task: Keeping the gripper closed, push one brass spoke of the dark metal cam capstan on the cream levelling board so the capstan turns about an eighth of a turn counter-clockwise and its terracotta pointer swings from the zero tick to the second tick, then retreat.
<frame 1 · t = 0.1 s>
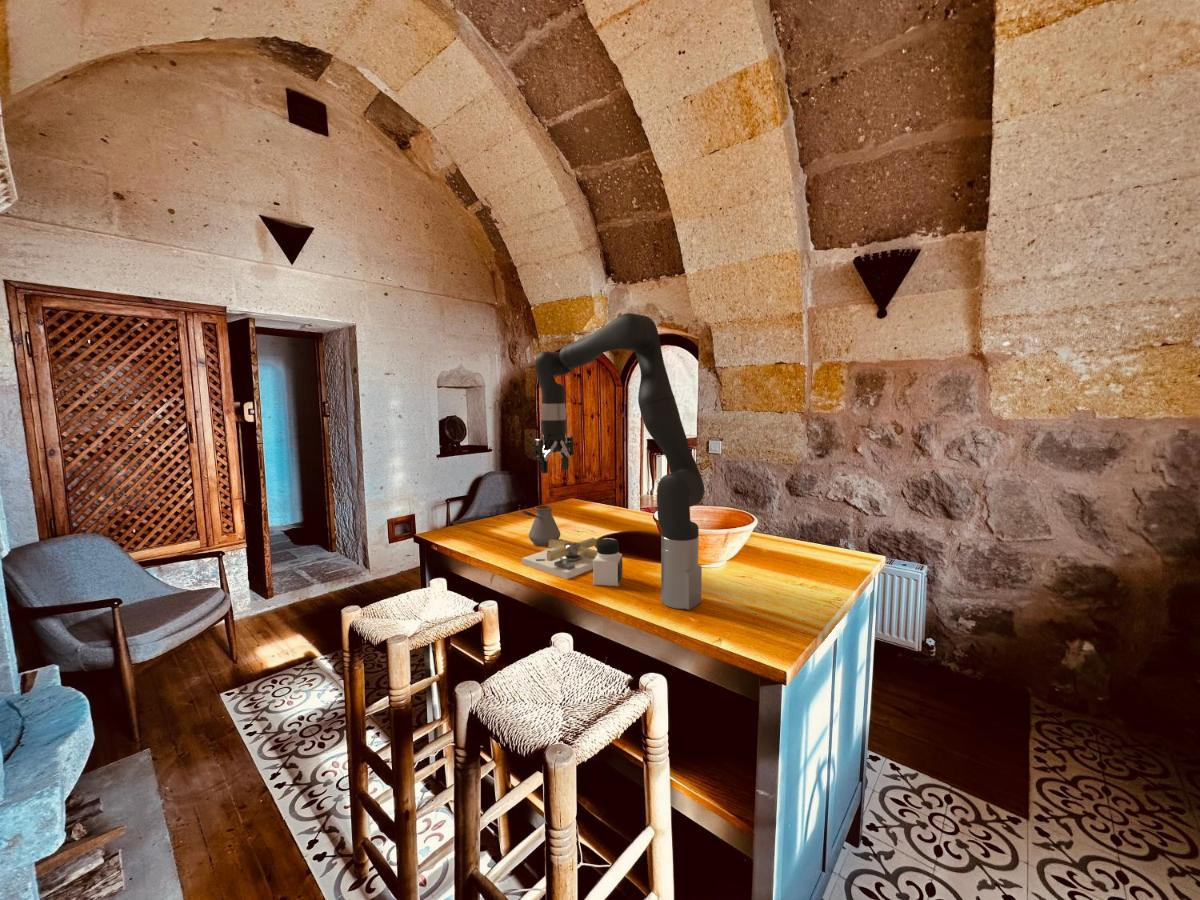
hand: (554, 471, 152), 29 cm above the worktop, fingers open, 8 cm apart
levelling board: (566, 563, 155), on the worktop
medicine bottle: (608, 581, 140), on the worktop
coffee pot: (538, 547, 173), on the worktop
cam capstan: (572, 550, 153), point 5 cm above the worktop, hinge at 0.0°
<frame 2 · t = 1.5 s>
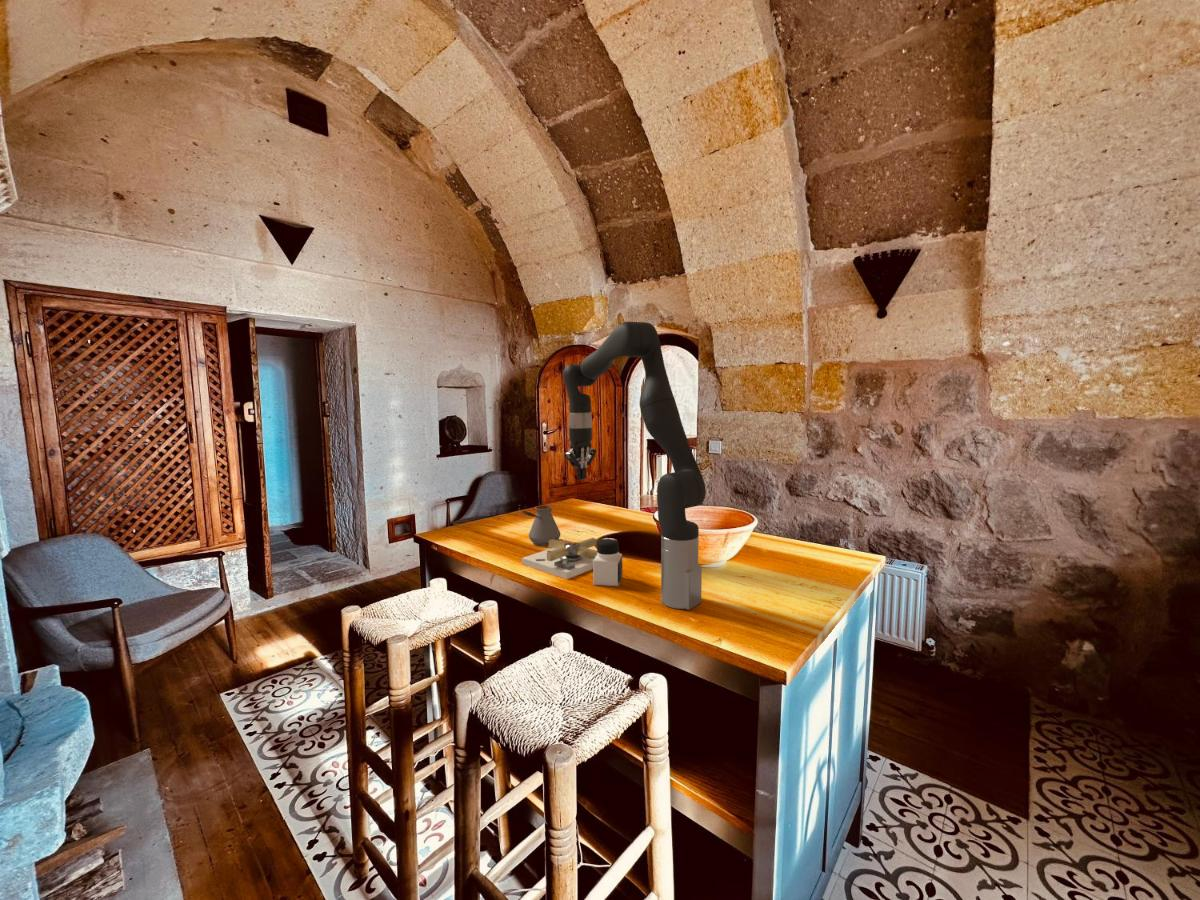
hand: (581, 479, 162), 25 cm above the worktop, fingers closed
nothing on the worktop moved.
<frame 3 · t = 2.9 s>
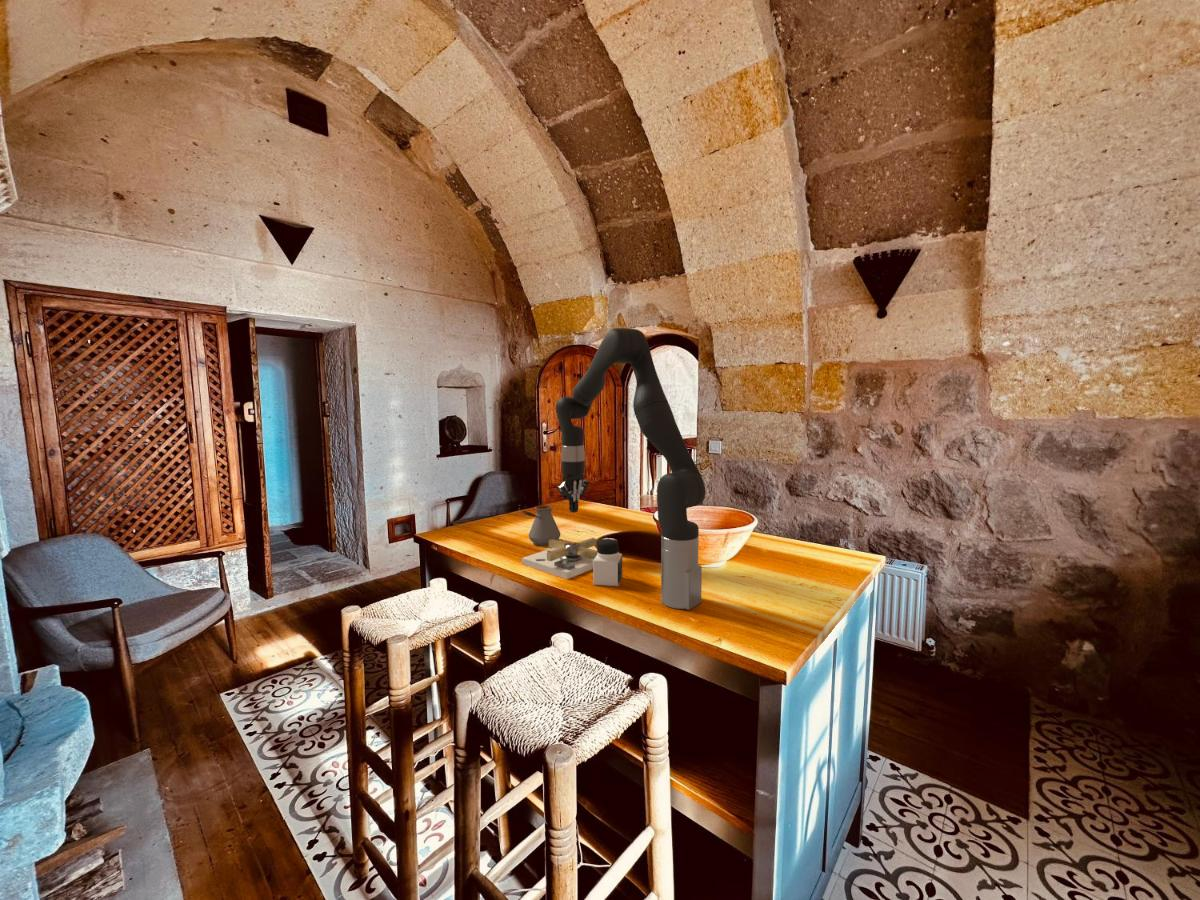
hand: (573, 511, 161), 15 cm above the worktop, fingers closed
nothing on the worktop moved.
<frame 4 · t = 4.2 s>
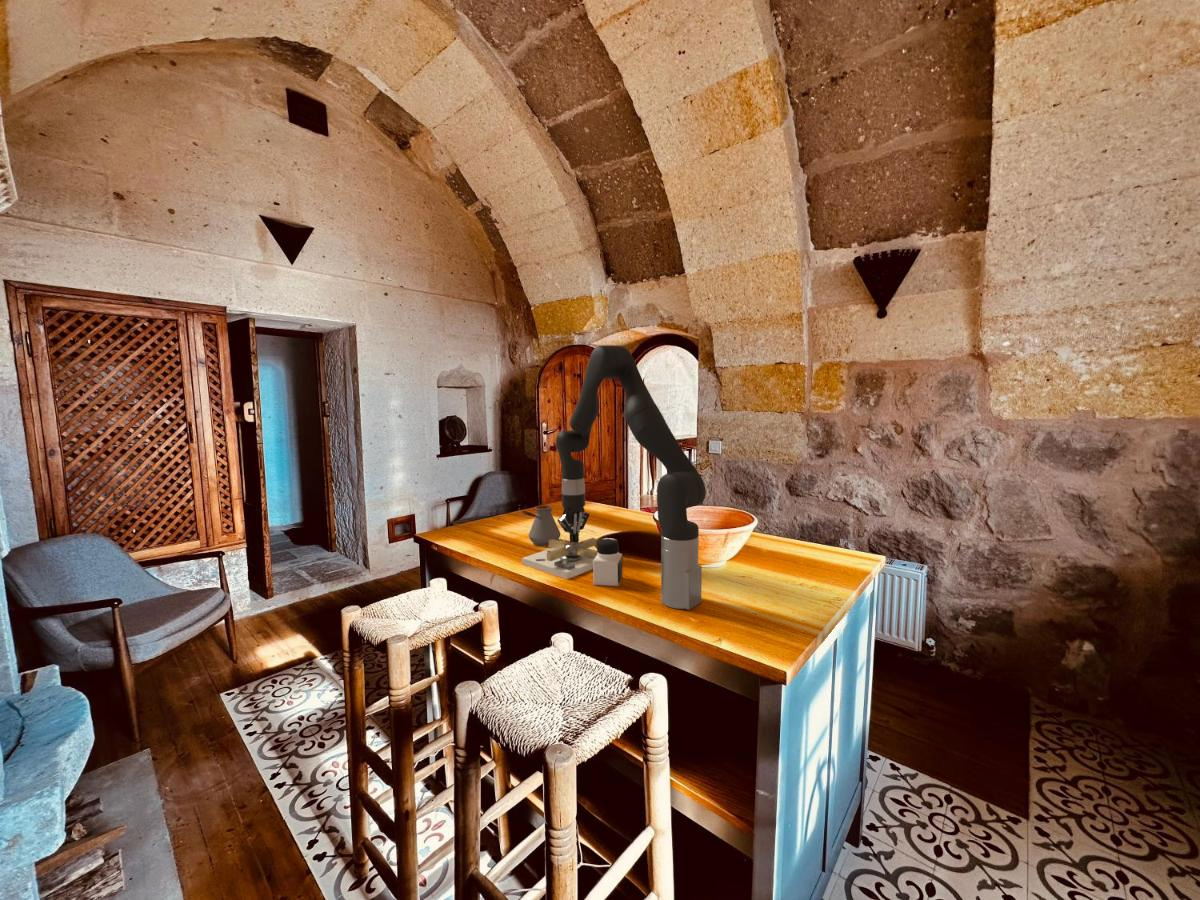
hand: (574, 543, 162), 4 cm above the worktop, fingers closed
nothing on the worktop moved.
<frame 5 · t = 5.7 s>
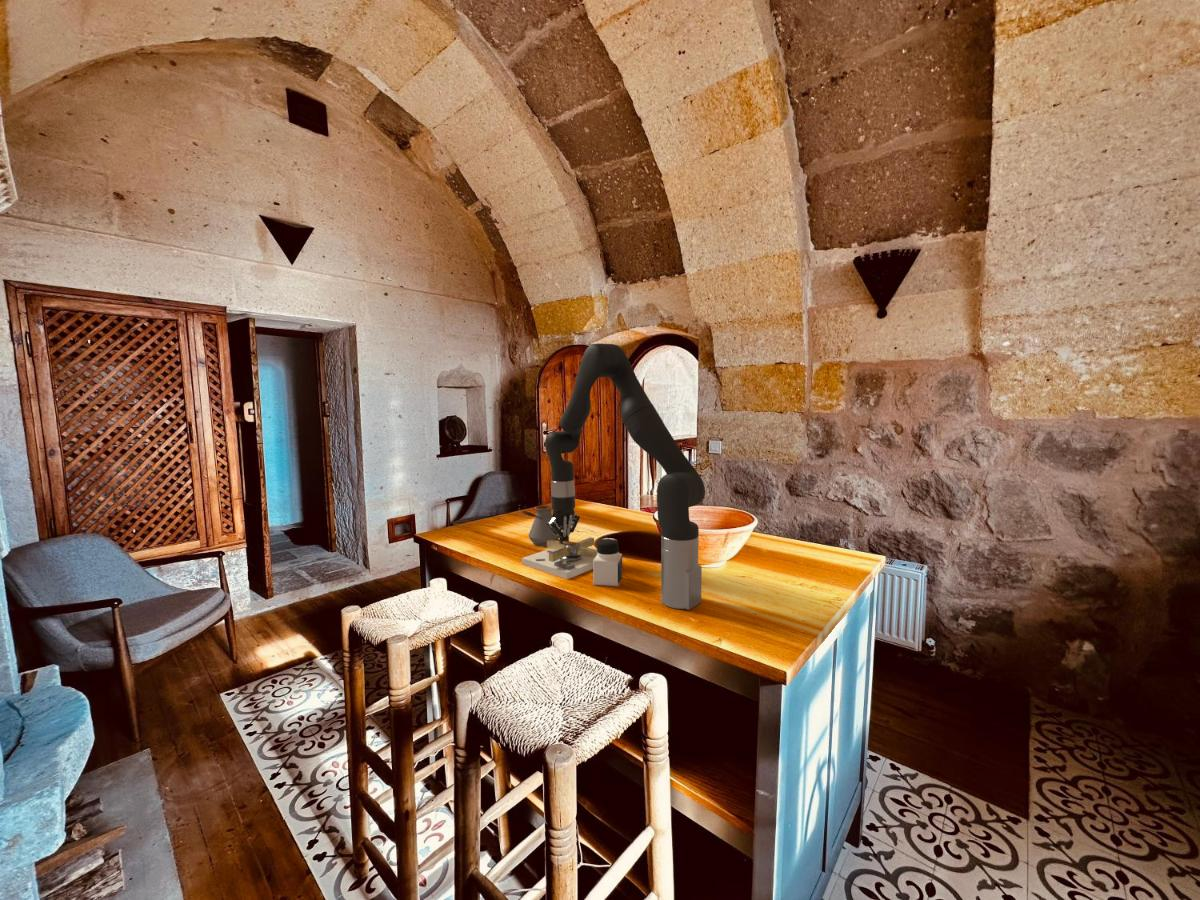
hand: (564, 547, 158), 4 cm above the worktop, fingers closed
cam capstan: (572, 550, 153), point 5 cm above the worktop, hinge at 5.3°, touching gripper
everything else where it was.
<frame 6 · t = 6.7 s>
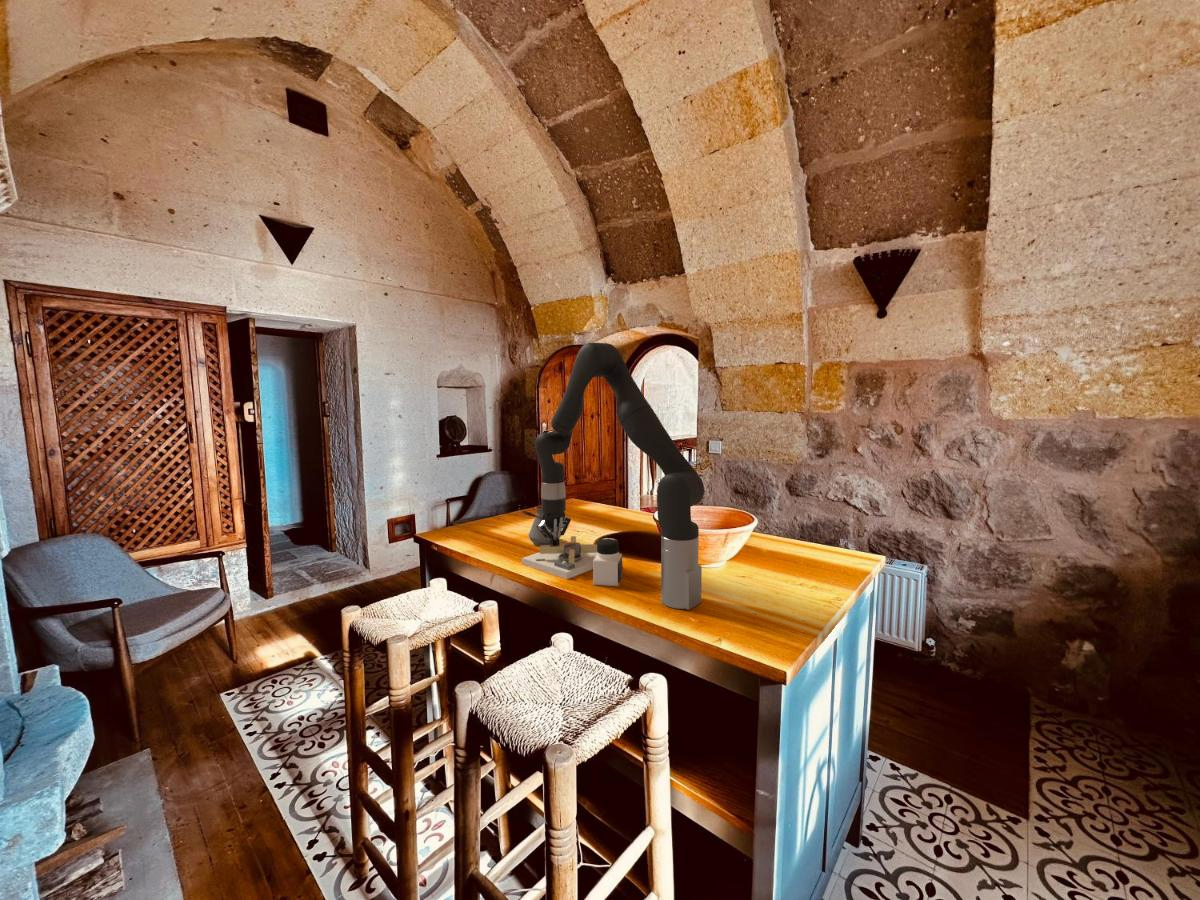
hand: (554, 550, 155), 4 cm above the worktop, fingers closed
cam capstan: (572, 550, 153), point 5 cm above the worktop, hinge at 43.1°
everything else where it was.
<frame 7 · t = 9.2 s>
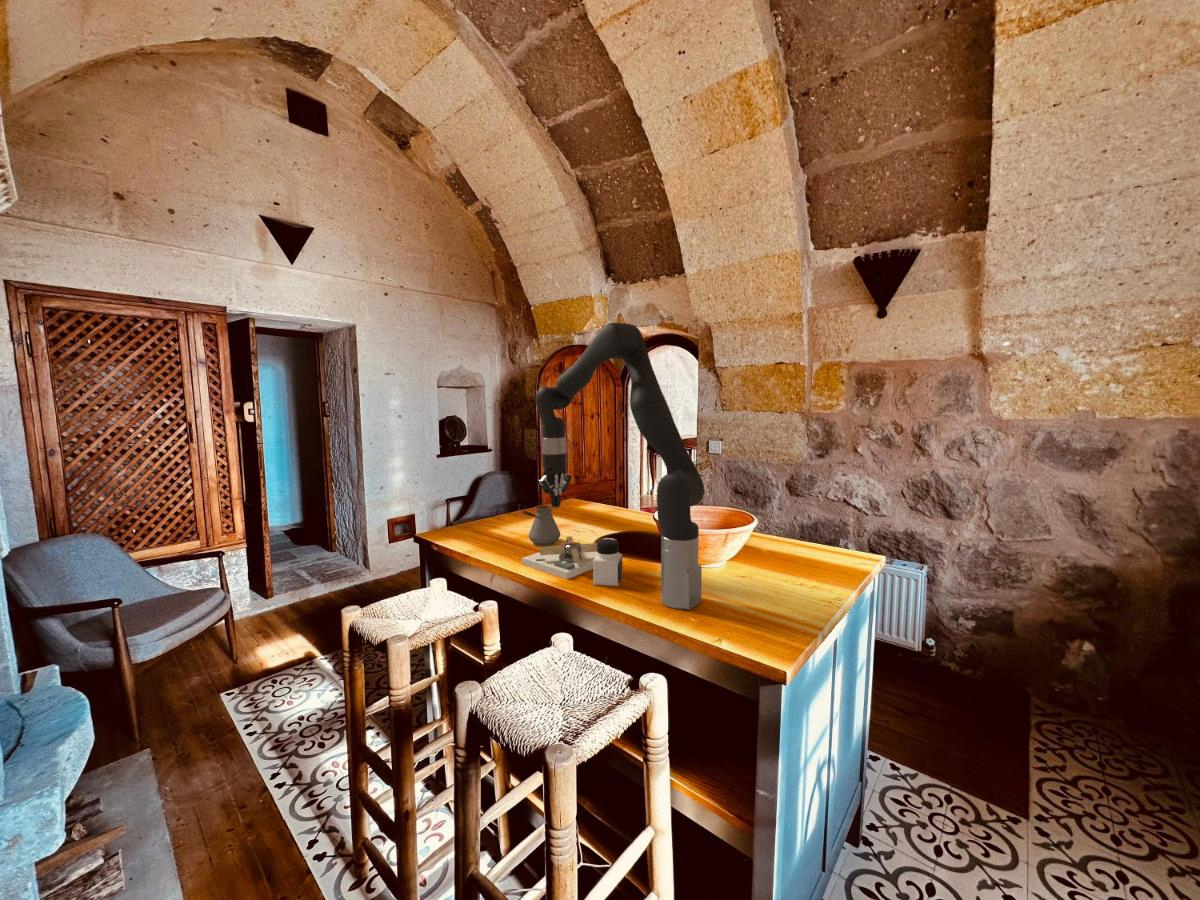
hand: (556, 506, 154), 18 cm above the worktop, fingers closed
cam capstan: (572, 550, 153), point 5 cm above the worktop, hinge at 51.2°
everything else where it was.
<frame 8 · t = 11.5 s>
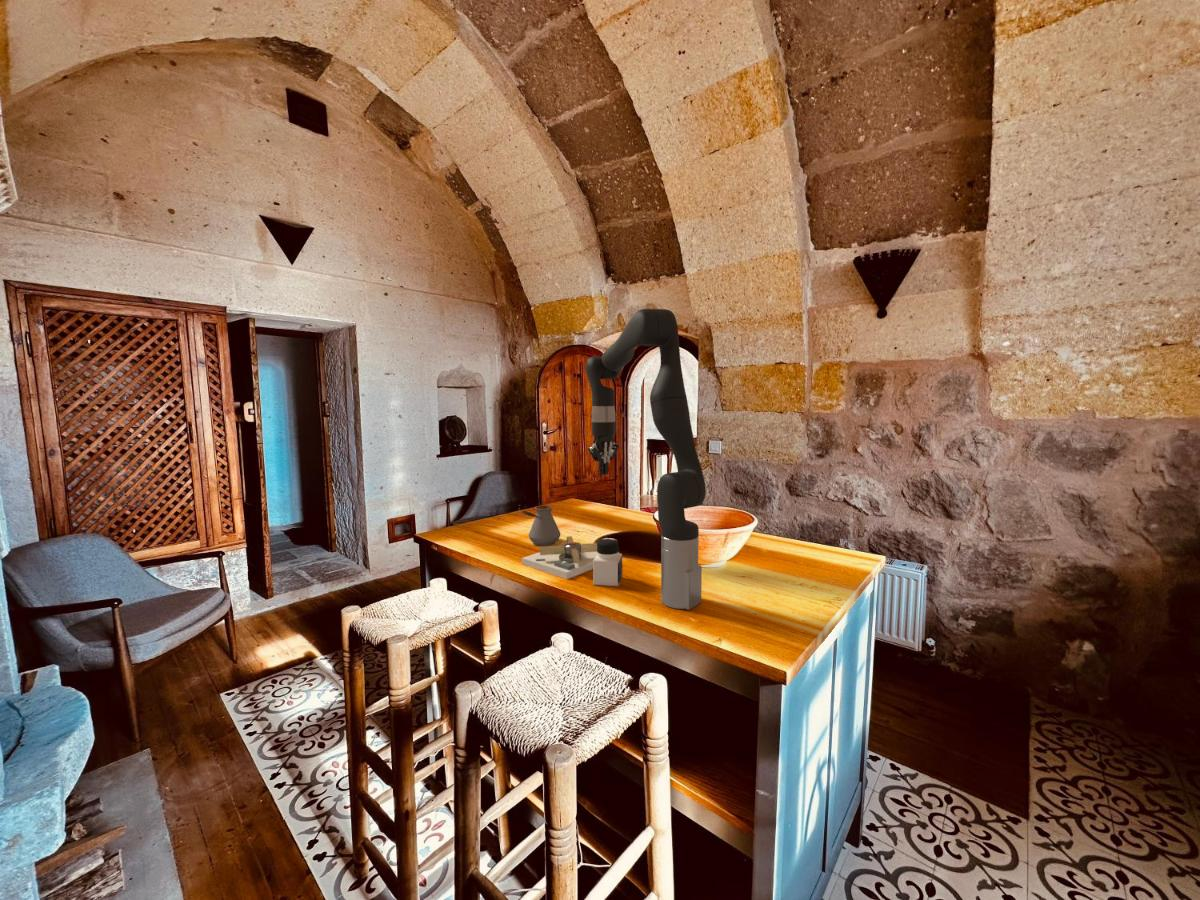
hand: (604, 474, 159), 27 cm above the worktop, fingers closed
nothing on the worktop moved.
at the end: cam capstan at +51° (first picture: +0°) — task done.
